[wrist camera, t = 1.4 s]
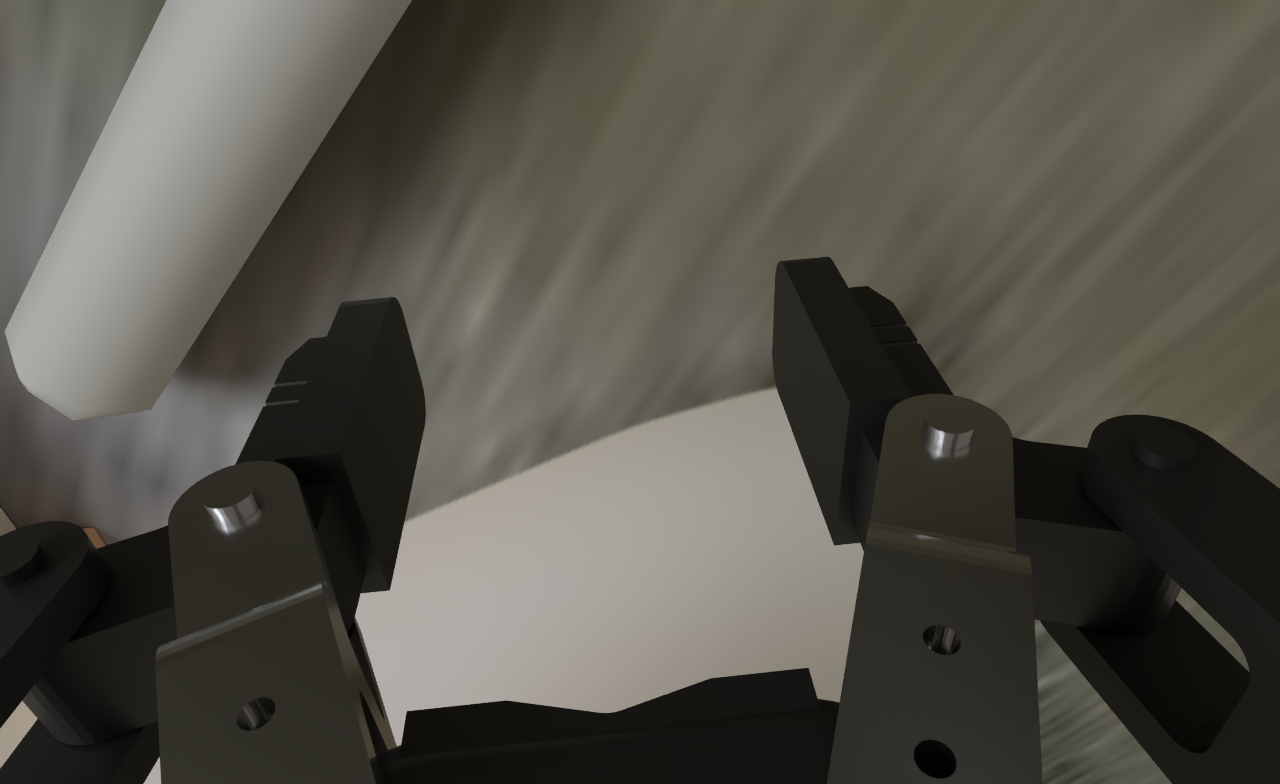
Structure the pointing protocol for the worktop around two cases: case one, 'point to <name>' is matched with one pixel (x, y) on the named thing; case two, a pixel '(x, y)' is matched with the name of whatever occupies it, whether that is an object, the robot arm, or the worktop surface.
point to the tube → (184, 190)
